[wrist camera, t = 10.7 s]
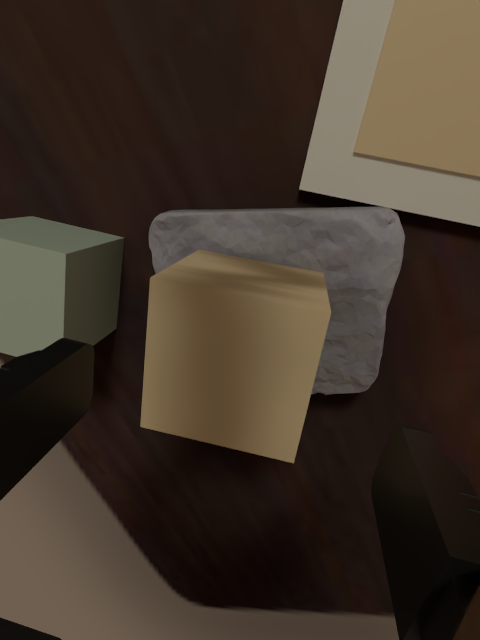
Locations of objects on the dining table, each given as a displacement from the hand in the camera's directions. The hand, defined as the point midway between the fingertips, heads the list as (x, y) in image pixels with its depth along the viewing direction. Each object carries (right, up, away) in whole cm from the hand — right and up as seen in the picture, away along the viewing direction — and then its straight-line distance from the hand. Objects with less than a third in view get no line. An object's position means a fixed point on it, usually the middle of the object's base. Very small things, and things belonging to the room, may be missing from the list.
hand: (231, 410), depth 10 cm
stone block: (+2, +4, +11) cm, 12 cm away
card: (+9, +12, +6) cm, 16 cm away
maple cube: (+1, +2, +7) cm, 8 cm away
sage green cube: (-9, +5, +12) cm, 16 cm away
